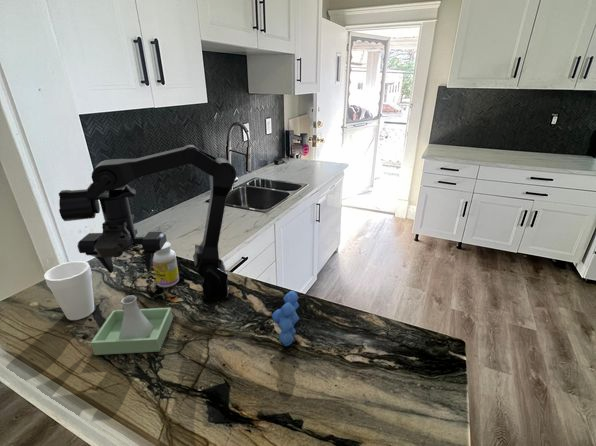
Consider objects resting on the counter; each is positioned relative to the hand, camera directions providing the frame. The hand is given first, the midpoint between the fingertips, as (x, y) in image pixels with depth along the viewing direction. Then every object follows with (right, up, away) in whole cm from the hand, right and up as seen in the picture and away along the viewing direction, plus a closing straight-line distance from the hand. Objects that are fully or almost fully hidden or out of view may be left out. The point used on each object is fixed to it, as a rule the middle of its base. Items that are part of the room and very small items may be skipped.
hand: (130, 271), depth 80 cm
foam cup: (-15, -12, +3) cm, 19 cm away
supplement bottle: (+3, -6, +17) cm, 18 cm away
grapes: (+40, -15, -4) cm, 43 cm away
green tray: (+4, -15, -4) cm, 16 cm away
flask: (+4, -14, -4) cm, 16 cm away
